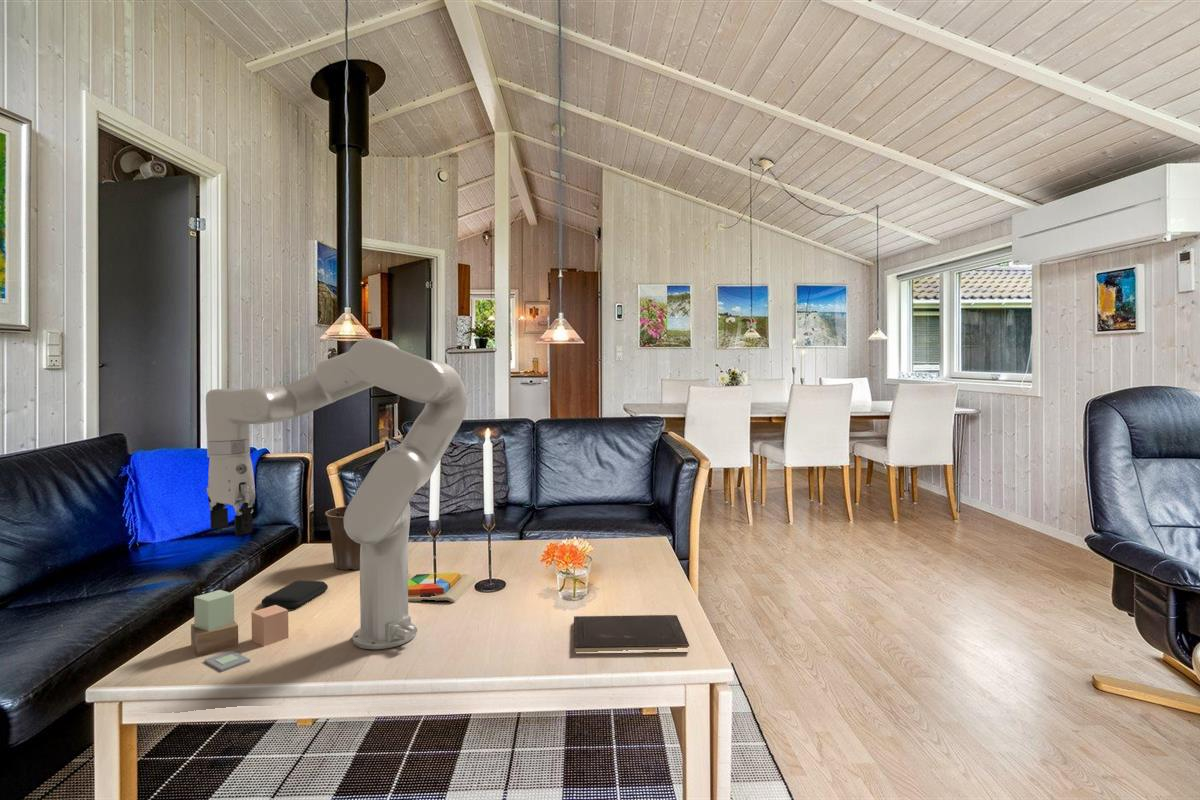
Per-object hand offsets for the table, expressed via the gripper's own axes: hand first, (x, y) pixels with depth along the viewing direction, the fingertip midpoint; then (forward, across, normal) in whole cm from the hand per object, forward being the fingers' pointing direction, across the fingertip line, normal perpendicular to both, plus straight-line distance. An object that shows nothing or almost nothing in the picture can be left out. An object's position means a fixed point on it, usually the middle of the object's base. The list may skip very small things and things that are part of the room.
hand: (231, 530), depth 126 cm
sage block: (+18, 0, +4) cm, 19 cm away
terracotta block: (+23, -6, -4) cm, 24 cm away
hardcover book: (+25, -68, -45) cm, 86 cm away
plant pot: (+23, +24, -46) cm, 57 cm away
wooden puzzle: (+24, -11, -43) cm, 50 cm away
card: (+23, -9, +6) cm, 25 cm away
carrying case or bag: (+23, +12, -20) cm, 33 cm away
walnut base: (+23, 0, +4) cm, 23 cm away
